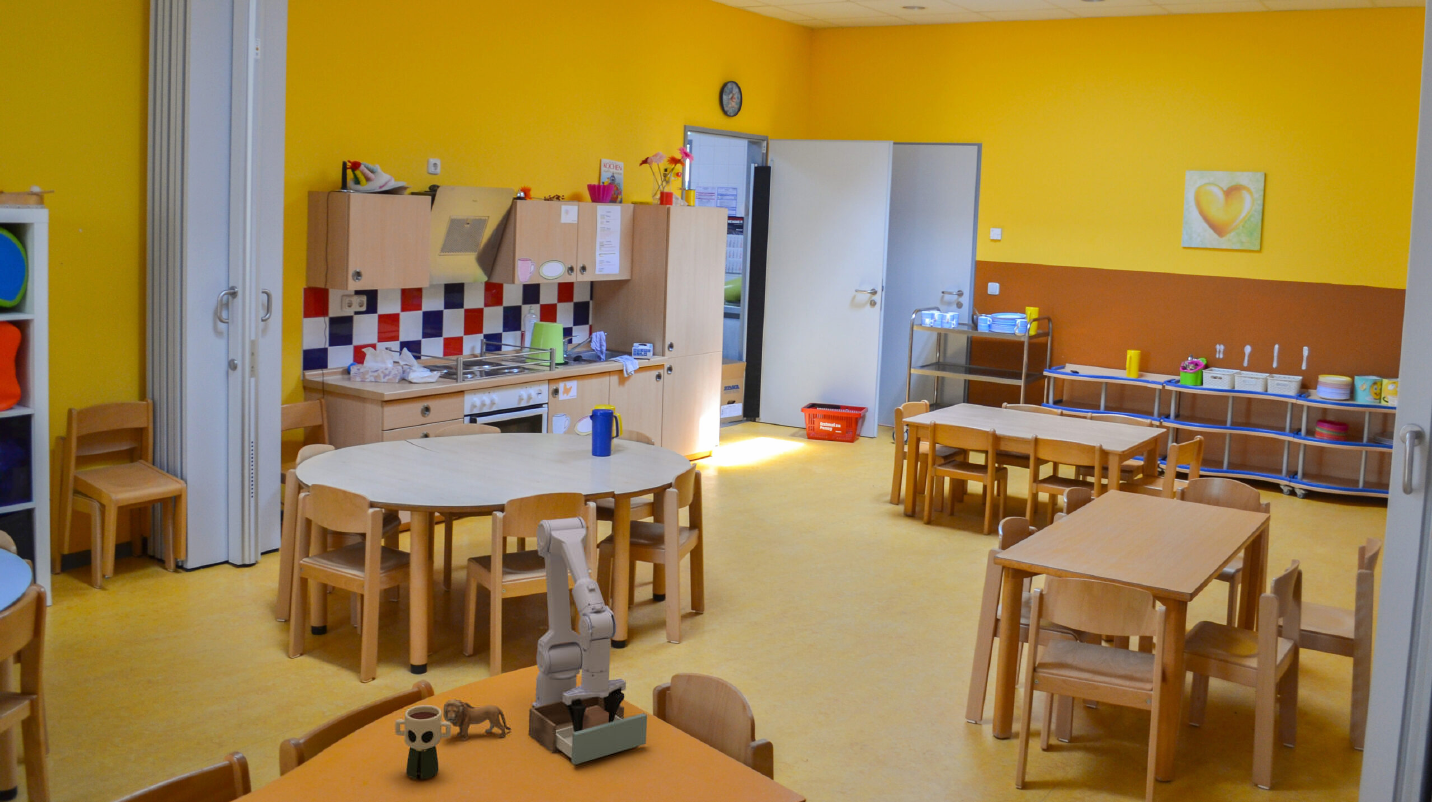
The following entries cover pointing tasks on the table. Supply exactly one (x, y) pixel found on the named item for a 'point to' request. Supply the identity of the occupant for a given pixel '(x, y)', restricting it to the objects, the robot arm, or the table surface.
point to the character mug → (422, 739)
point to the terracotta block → (595, 717)
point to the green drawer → (602, 738)
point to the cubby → (557, 720)
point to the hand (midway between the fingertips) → (593, 728)
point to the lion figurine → (473, 717)
